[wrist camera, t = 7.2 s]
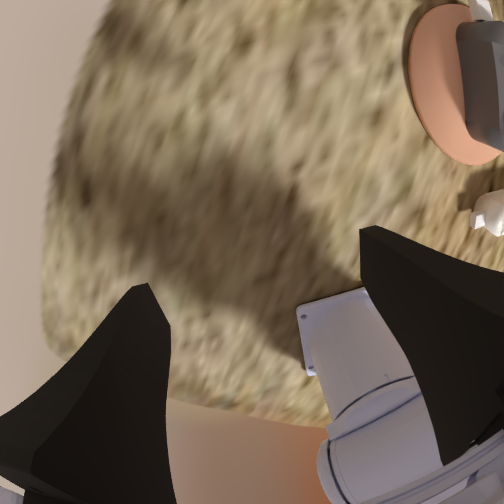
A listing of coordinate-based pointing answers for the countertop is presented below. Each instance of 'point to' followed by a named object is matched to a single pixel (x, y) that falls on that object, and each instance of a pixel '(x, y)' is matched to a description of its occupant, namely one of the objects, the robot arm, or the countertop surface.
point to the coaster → (443, 84)
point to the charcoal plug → (483, 74)
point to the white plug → (489, 212)
